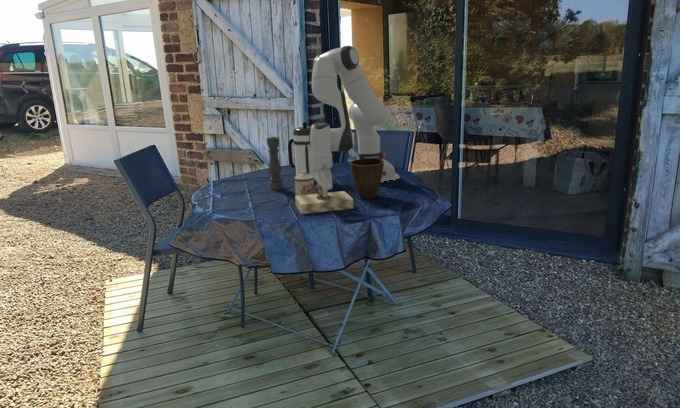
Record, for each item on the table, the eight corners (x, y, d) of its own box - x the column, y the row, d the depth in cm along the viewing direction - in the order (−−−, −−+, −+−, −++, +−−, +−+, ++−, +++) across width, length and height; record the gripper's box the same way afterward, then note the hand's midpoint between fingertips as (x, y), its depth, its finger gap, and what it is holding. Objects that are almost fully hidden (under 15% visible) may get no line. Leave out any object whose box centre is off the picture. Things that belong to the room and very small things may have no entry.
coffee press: (322, 175, 263) (319, 119, 255) (321, 182, 248) (319, 123, 240) (289, 176, 263) (286, 120, 255) (287, 183, 248) (283, 124, 239)
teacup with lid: (301, 200, 218) (300, 174, 214) (291, 196, 225) (290, 171, 222) (324, 195, 224) (323, 170, 221) (313, 191, 232) (312, 167, 228)
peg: (327, 202, 209) (326, 179, 206) (329, 205, 205) (328, 182, 202) (317, 203, 208) (316, 180, 205) (319, 206, 204) (318, 182, 201)
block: (344, 199, 216) (344, 191, 215) (353, 208, 203) (353, 199, 202) (295, 204, 211) (294, 195, 210) (301, 214, 198) (300, 204, 196)
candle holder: (280, 190, 236) (276, 138, 229) (268, 189, 237) (264, 138, 230) (284, 186, 242) (280, 136, 235) (272, 186, 243) (268, 136, 236)
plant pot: (362, 203, 210) (361, 166, 205) (345, 195, 222) (343, 161, 218) (390, 197, 216) (390, 162, 212) (372, 190, 229) (372, 157, 224)
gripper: (335, 166, 192) (336, 200, 196) (323, 157, 212) (325, 188, 215) (319, 168, 191) (321, 202, 195) (309, 158, 210) (311, 190, 214)
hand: (323, 195), depth 205 cm, fingers closed on peg, 4 cm apart
